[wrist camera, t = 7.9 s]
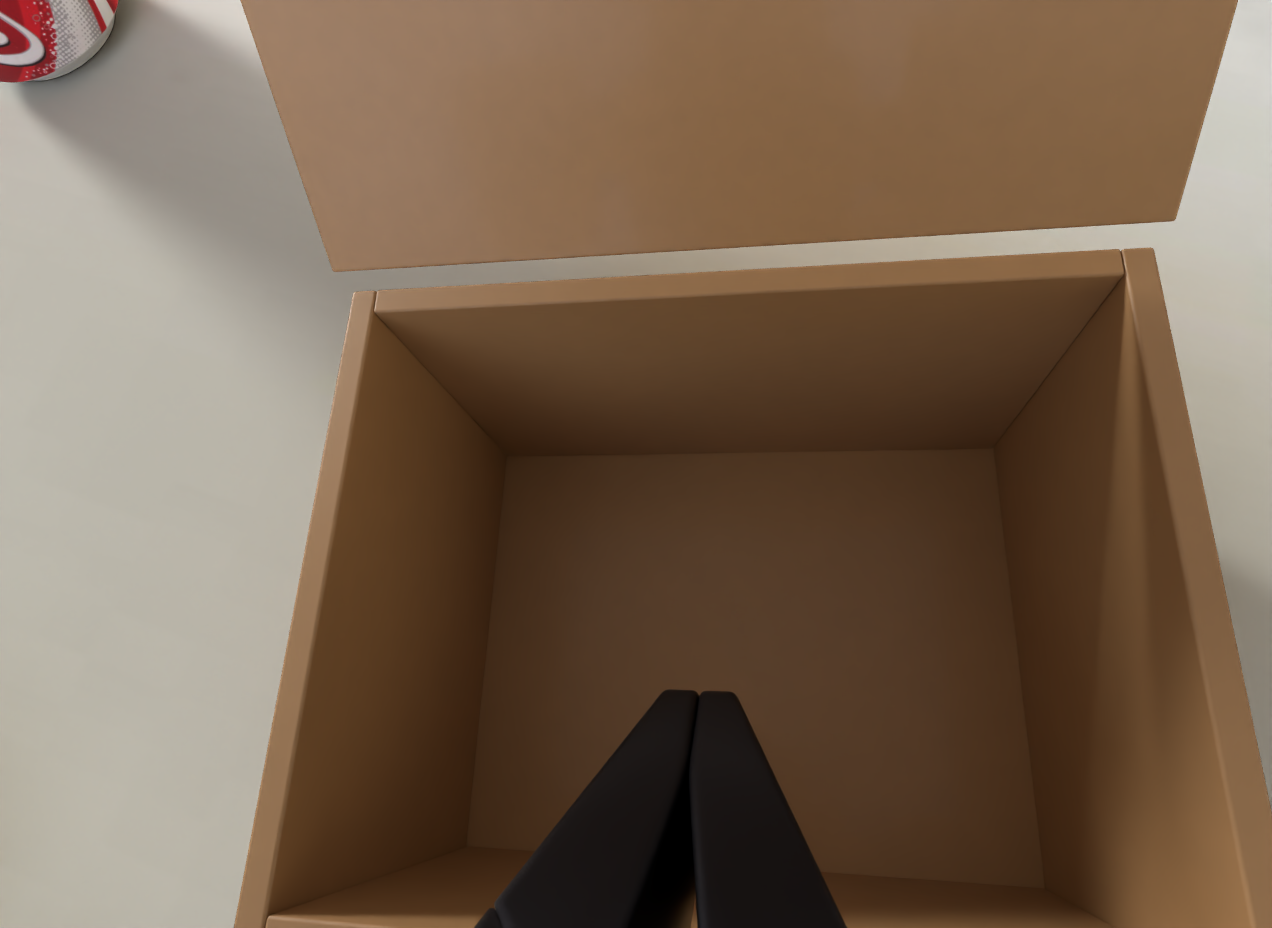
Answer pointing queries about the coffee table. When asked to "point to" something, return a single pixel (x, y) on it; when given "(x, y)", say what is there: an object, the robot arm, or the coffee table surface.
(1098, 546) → the carton
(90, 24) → the soda can
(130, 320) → the coffee table surface
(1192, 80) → the carton flap
